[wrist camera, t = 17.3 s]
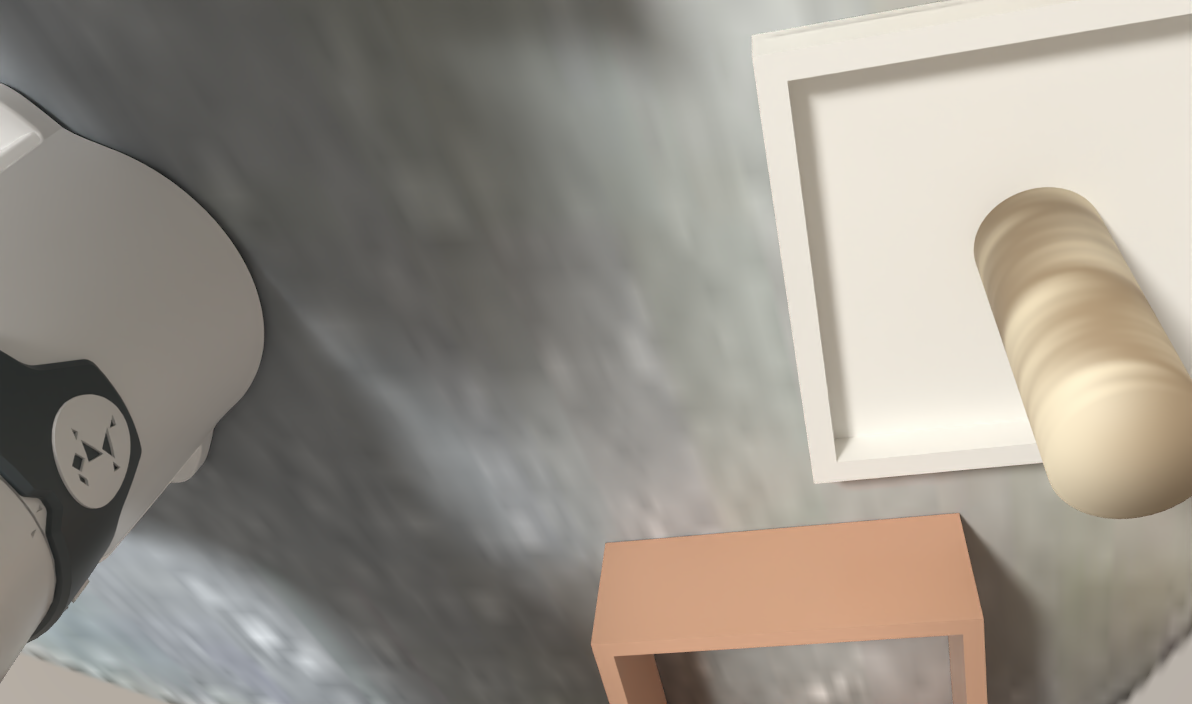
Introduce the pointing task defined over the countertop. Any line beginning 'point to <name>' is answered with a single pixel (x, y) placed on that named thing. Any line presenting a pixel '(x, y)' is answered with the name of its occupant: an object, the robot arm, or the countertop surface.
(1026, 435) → the tray
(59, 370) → the robot arm
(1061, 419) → the dowel pin
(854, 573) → the peach storage bin
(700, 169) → the countertop surface
